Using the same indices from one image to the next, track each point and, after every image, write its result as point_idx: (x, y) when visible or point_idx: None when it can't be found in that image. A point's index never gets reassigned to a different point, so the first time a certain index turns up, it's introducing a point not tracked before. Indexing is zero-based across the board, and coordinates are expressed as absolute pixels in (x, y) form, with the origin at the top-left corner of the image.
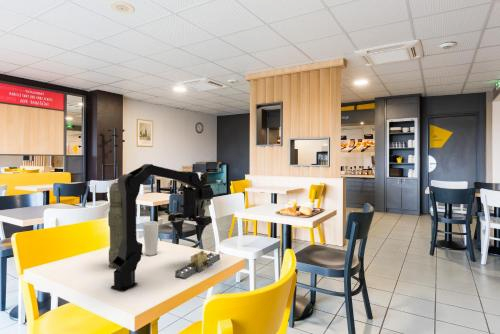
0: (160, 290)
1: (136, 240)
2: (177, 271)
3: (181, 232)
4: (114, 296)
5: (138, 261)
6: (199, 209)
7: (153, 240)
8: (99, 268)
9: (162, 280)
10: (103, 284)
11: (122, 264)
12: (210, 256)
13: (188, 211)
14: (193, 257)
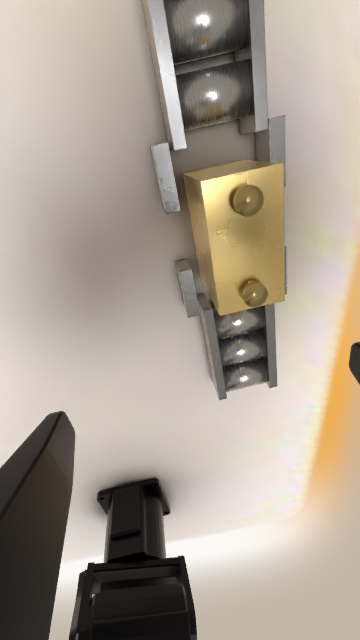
0: (255, 452)
1: None
2: (227, 391)
3: (41, 489)
4: (176, 523)
5: (177, 584)
6: None
7: None
8: None
9: (194, 420)
10: (66, 526)
11: (95, 579)
12: (209, 31)
13: None
14: (242, 307)
